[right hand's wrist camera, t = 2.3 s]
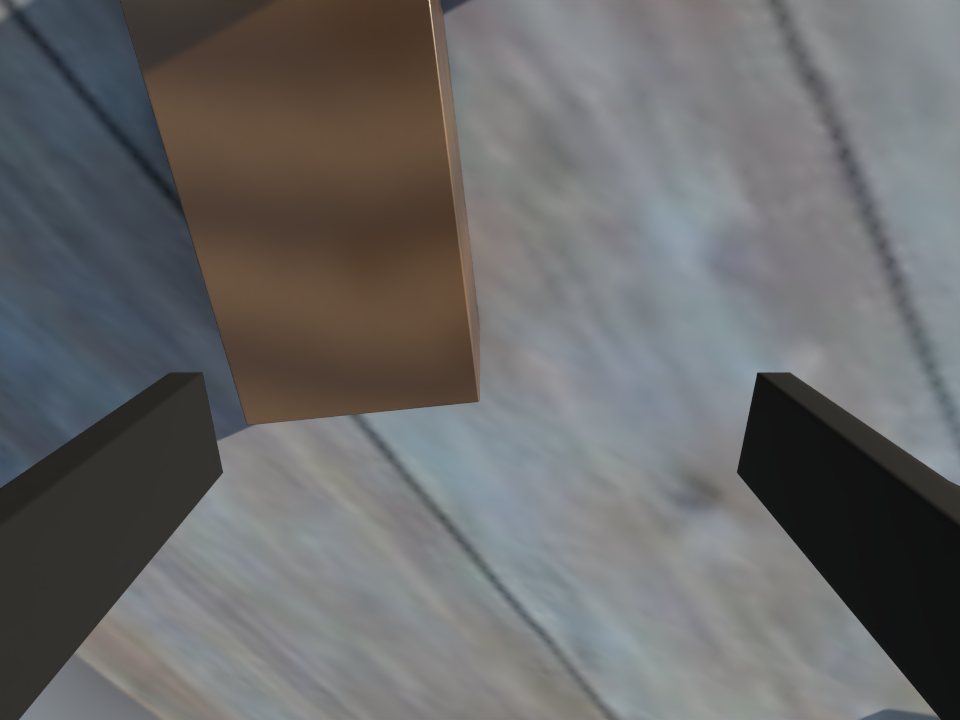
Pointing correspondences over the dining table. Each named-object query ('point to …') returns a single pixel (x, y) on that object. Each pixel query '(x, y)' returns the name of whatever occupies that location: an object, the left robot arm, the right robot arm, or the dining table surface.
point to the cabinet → (320, 196)
